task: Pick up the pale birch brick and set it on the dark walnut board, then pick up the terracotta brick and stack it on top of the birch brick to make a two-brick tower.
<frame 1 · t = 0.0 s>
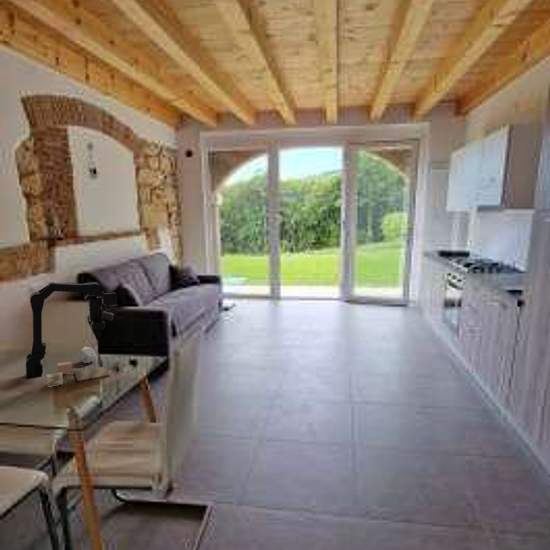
hand: (96, 337, 209), 15 cm above the table, tool pointing down, fingers open, 9 cm apart
terracotta brick: (65, 373, 200), on the table
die: (87, 362, 215), on the table
walnut board: (92, 374, 199), on the table
birch brick: (55, 385, 187), on the table
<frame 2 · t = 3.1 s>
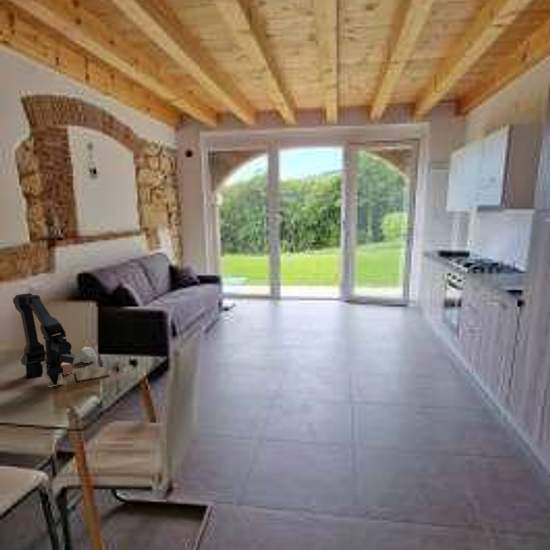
hand: (55, 382, 187), 1 cm above the table, tool pointing down, fingers closed on birch brick, 4 cm apart
birch brick: (55, 385, 187), on the table, touching gripper
everything else where it was.
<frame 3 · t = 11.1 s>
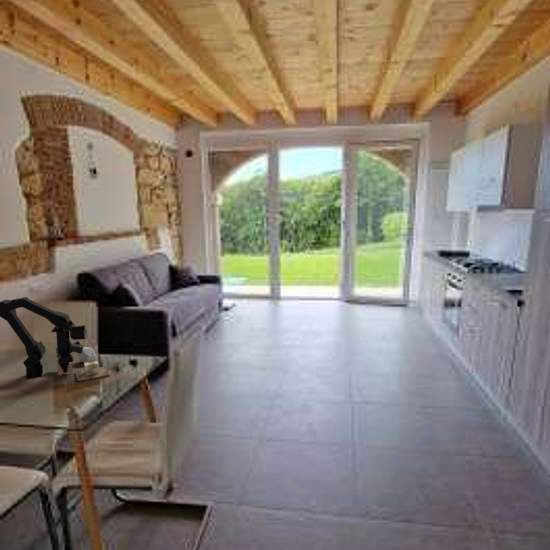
hand: (65, 371, 200), 1 cm above the table, tool pointing down, fingers closed on terracotta brick, 4 cm apart
terracotta brick: (65, 373, 200), on the table, touching gripper
birch brick: (91, 373, 199), point 1 cm above the table, touching walnut board
everything else where it was.
when the fingers open (8 cm above the table, at t = 14.5 s): terracotta brick stays where it is, resting on birch brick.
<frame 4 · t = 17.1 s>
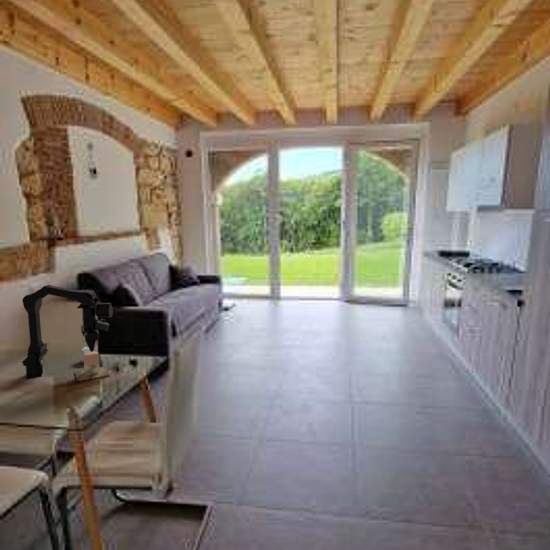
hand: (90, 348, 197), 13 cm above the table, tool pointing down, fingers open, 9 cm apart
terracotta brick: (91, 363, 198), point 6 cm above the table, touching birch brick
birch brick: (91, 373, 199), point 1 cm above the table, touching terracotta brick, walnut board
everything else where it was.
at the end: birch brick inside the target area on the walnut board (0.0 cm from its centre), point 0.8 cm above the walnut board's base; terracotta brick 0.0 cm off-centre on the birch brick, point 5.0 cm above the birch brick's base; terracotta brick tilted 0° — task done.
